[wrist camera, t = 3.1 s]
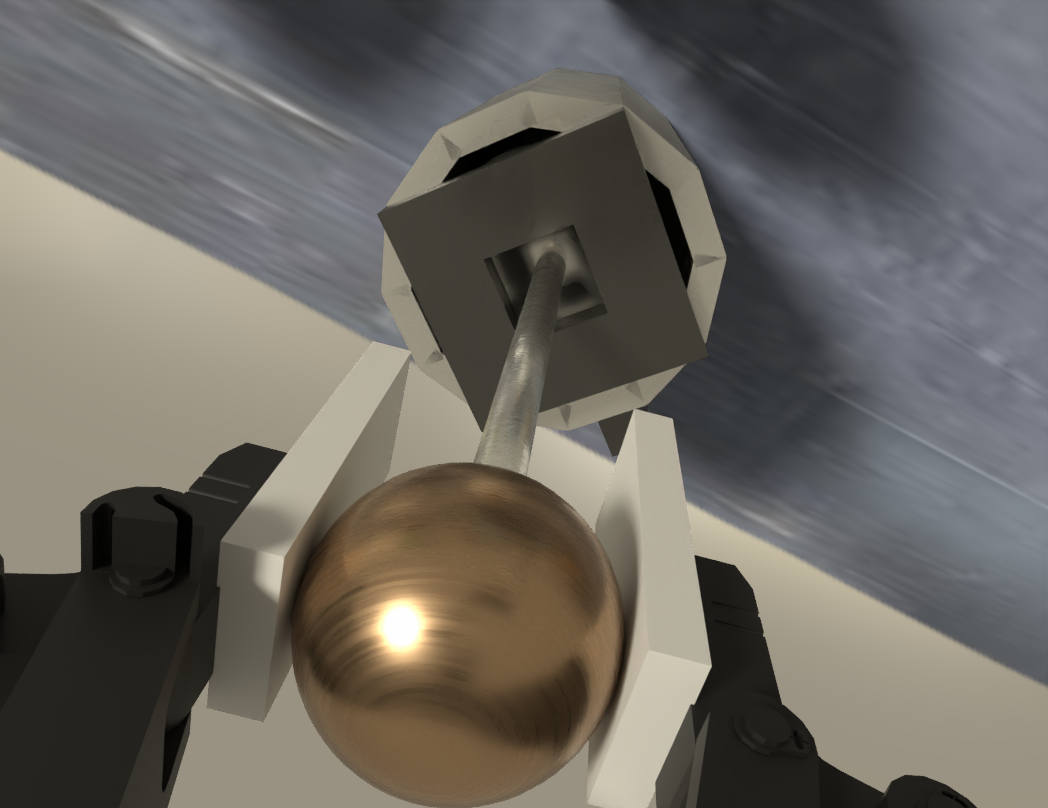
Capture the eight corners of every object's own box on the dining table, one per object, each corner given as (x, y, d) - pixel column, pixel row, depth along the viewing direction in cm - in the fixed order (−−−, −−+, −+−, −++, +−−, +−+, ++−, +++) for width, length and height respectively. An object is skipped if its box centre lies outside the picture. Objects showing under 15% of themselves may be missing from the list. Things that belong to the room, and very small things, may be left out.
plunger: (622, 101, 25) (659, 313, 6) (699, 325, 28) (881, 930, 9) (400, 195, 27) (-78, 572, 8) (493, 395, 30) (295, 1015, 11)
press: (637, 31, 37) (657, 33, 22) (724, 298, 42) (791, 454, 27) (428, 125, 40) (312, 186, 24) (532, 365, 45) (491, 542, 29)
